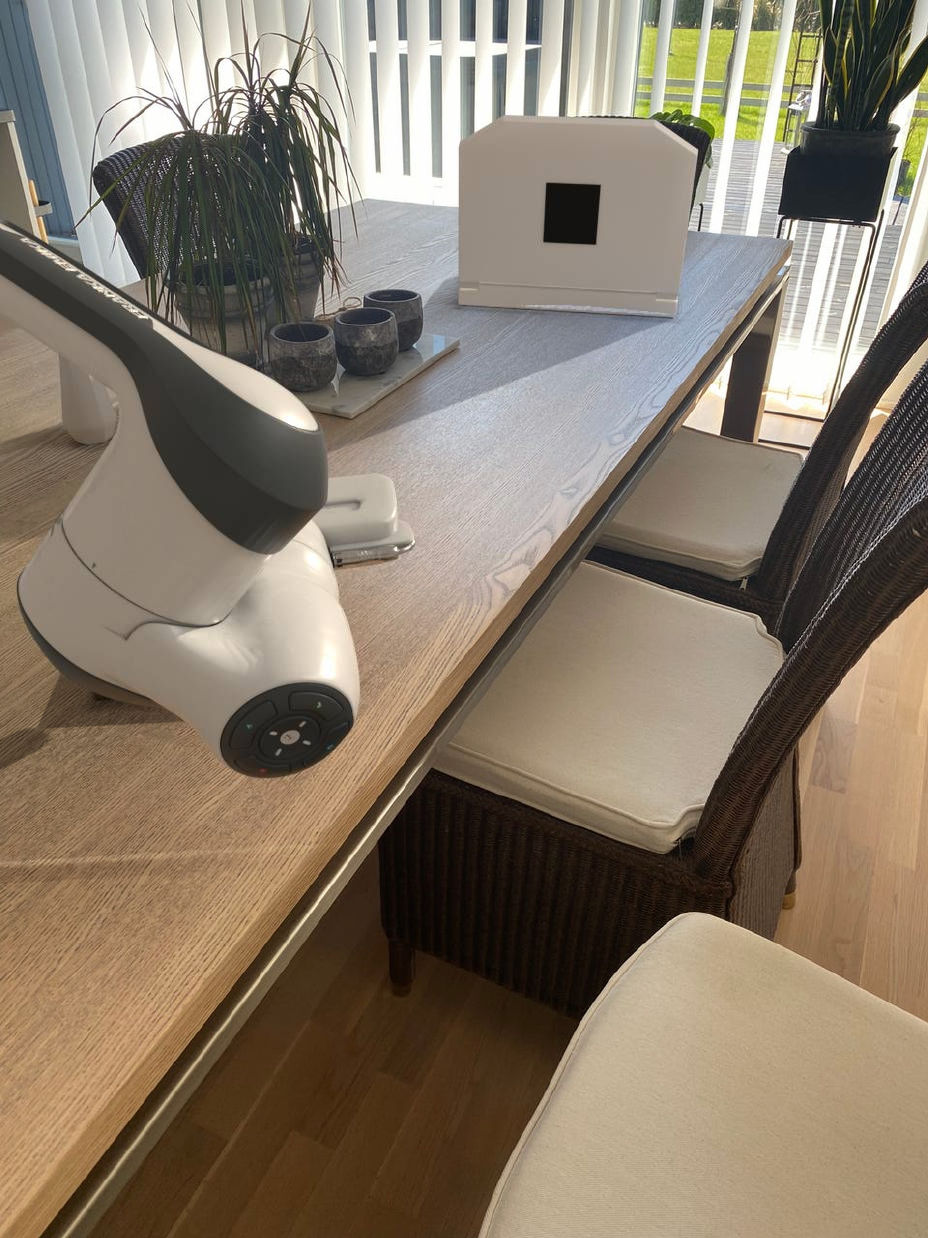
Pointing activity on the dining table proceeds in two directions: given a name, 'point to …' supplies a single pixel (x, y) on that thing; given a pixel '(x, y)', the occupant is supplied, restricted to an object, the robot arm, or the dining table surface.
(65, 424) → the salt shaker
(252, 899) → the dining table surface
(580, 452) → the dining table surface
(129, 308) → the robot arm
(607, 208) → the white chamfered box
